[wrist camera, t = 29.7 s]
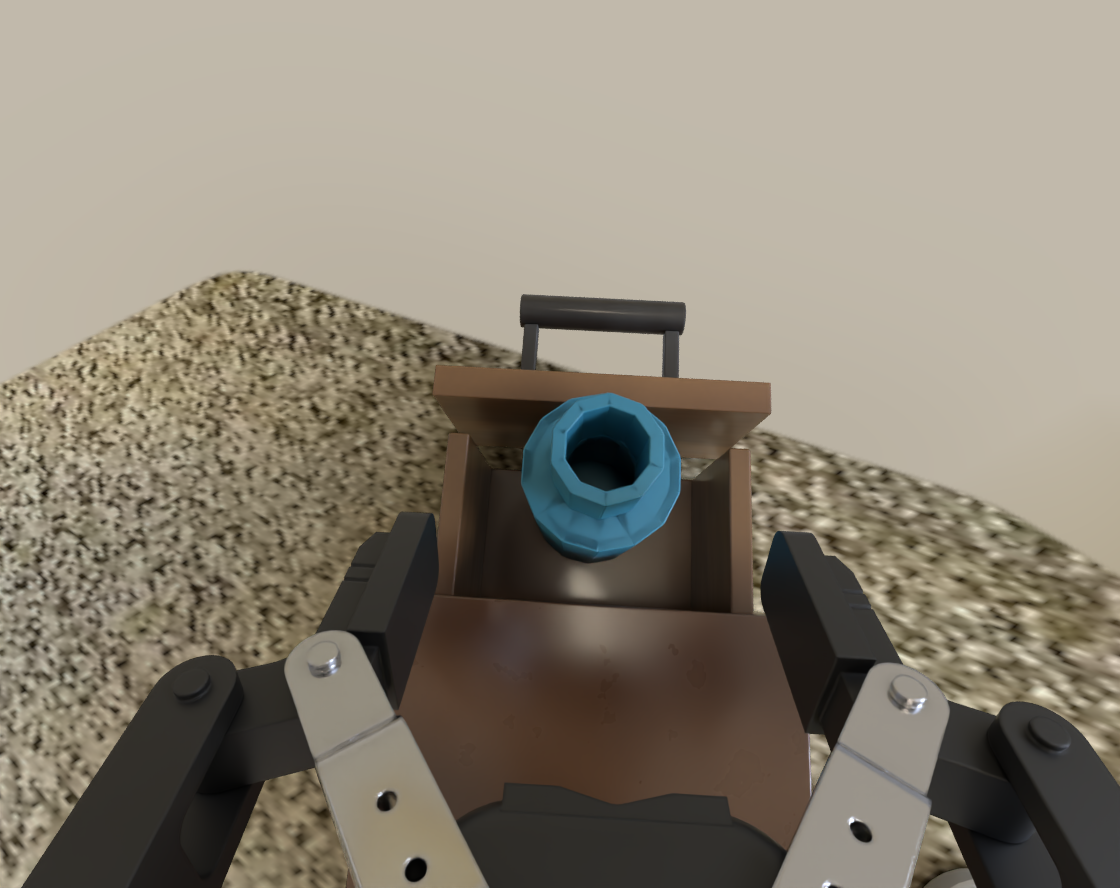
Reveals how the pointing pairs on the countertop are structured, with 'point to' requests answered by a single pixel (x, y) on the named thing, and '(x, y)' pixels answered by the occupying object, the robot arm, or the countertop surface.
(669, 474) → the bottle
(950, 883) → the travel mug
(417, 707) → the cabinet
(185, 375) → the countertop surface
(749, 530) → the drawer
